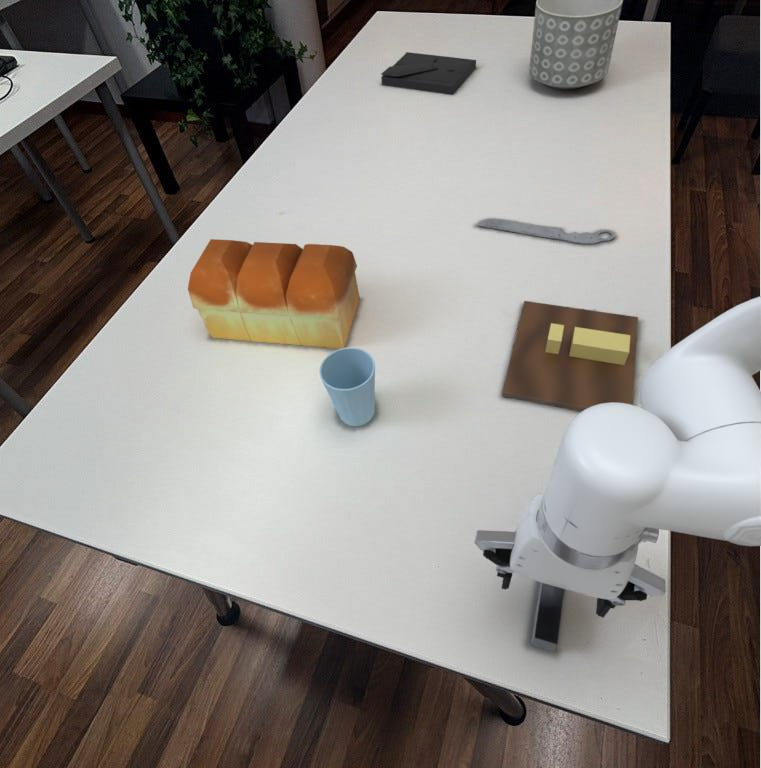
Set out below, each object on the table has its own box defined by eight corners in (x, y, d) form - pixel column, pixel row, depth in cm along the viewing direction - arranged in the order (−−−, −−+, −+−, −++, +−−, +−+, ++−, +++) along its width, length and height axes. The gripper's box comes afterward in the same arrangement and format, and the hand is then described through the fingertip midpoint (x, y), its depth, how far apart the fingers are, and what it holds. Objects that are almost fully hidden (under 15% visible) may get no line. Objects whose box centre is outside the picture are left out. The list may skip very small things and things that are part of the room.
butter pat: (561, 338, 88) (564, 325, 86) (558, 354, 86) (561, 341, 84) (548, 336, 89) (550, 323, 86) (545, 352, 87) (547, 339, 84)
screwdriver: (552, 652, 62) (557, 644, 59) (530, 645, 62) (534, 637, 59) (572, 500, 72) (577, 487, 69) (553, 496, 73) (557, 483, 70)
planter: (605, 100, 134) (624, 15, 120) (524, 99, 138) (533, 17, 124) (605, 65, 145) (622, -17, 131) (530, 65, 149) (539, -14, 135)
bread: (362, 298, 100) (350, 229, 88) (346, 350, 92) (331, 283, 81) (233, 289, 105) (206, 223, 93) (208, 338, 97) (175, 273, 86)
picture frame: (382, 84, 151) (453, 94, 143) (381, 73, 148) (453, 83, 141) (407, 60, 159) (475, 68, 151) (406, 49, 156) (476, 57, 149)
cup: (367, 383, 88) (358, 338, 79) (391, 417, 83) (385, 373, 75) (324, 405, 86) (310, 362, 78) (346, 441, 81) (335, 399, 73)
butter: (625, 348, 86) (630, 335, 83) (624, 365, 84) (629, 352, 81) (571, 339, 88) (575, 326, 85) (569, 356, 86) (572, 343, 83)
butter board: (636, 321, 90) (638, 316, 89) (629, 420, 79) (631, 416, 78) (523, 304, 95) (524, 300, 94) (502, 396, 84) (502, 392, 83)
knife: (483, 211, 112) (476, 226, 109) (484, 209, 111) (476, 224, 109) (615, 232, 104) (611, 249, 101) (615, 231, 103) (611, 247, 101)
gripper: (701, 505, 45) (641, 577, 59) (489, 457, 50) (478, 534, 63) (703, 596, 41) (638, 651, 54) (471, 534, 45) (464, 599, 59)
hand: (552, 588), depth 59 cm, fingers open, 9 cm apart
